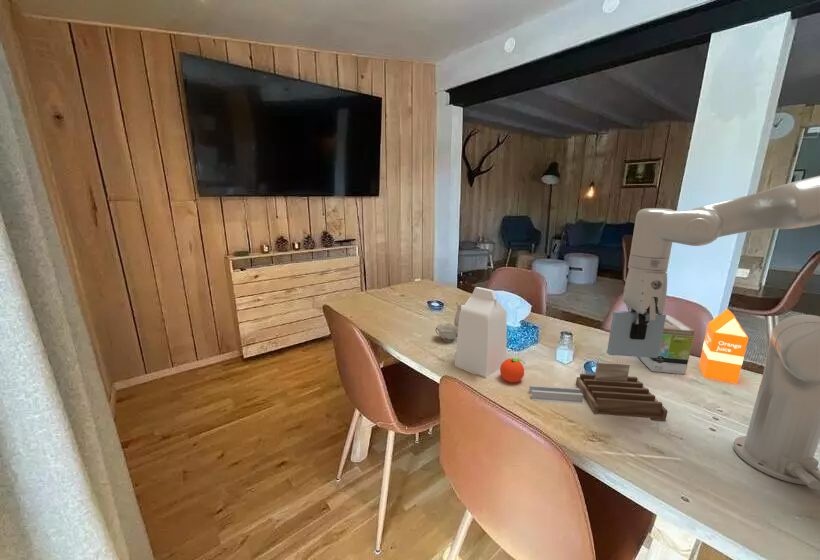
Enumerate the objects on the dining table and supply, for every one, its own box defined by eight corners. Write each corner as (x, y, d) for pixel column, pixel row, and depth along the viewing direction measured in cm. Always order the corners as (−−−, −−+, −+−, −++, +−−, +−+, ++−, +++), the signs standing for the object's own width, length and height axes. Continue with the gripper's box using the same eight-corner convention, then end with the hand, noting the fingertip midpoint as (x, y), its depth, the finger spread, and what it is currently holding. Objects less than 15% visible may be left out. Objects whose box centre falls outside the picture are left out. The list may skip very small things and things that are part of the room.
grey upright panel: (657, 357, 84) (666, 315, 81) (609, 354, 85) (616, 312, 83) (654, 355, 85) (662, 313, 83) (606, 352, 87) (613, 310, 84)
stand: (583, 405, 91) (584, 396, 91) (532, 401, 93) (532, 393, 92) (576, 394, 96) (578, 386, 95) (528, 391, 98) (529, 383, 97)
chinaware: (432, 348, 129) (432, 308, 123) (438, 328, 144) (438, 290, 139) (510, 355, 123) (514, 313, 118) (507, 333, 139) (510, 294, 133)
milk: (454, 365, 113) (457, 288, 106) (475, 354, 120) (478, 282, 114) (486, 379, 104) (490, 296, 98) (506, 366, 112) (511, 289, 106)
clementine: (516, 372, 108) (518, 351, 106) (531, 383, 102) (533, 361, 100) (494, 377, 105) (496, 356, 104) (508, 389, 99) (510, 366, 97)
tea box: (687, 375, 106) (696, 330, 103) (650, 372, 108) (658, 327, 105) (662, 353, 121) (670, 313, 117) (631, 351, 123) (637, 311, 119)
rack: (665, 420, 85) (671, 388, 83) (593, 415, 87) (598, 384, 85) (637, 389, 98) (642, 361, 96) (575, 385, 101) (579, 358, 98)
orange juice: (729, 371, 109) (744, 310, 104) (737, 384, 101) (753, 319, 96) (698, 365, 112) (710, 306, 108) (703, 377, 105) (717, 314, 100)
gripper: (687, 271, 72) (670, 352, 76) (647, 257, 87) (636, 326, 91) (648, 270, 73) (633, 350, 77) (615, 256, 87) (605, 324, 92)
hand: (635, 337), depth 84 cm, fingers closed on grey upright panel, 1 cm apart
